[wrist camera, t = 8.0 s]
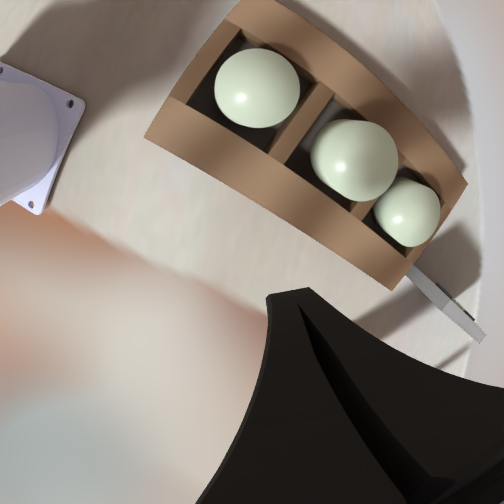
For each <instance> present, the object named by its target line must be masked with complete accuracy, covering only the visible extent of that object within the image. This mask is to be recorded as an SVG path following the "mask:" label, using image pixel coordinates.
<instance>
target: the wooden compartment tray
mask: <svg viewBox="0 0 504 504" xmlns="http://www.w3.org/2000/svg"><path fill="white" fill-rule="evenodd" d="M255 48H256V49H266V50H270V51H273V52H275V53H277V54H279V55H281V56H282V57H284V58H285V59H286V60H287V61H288V62H289V63H290V64H291V65H292V66H293V68H294V70H295V71H296V73H297V76H298V79H299V84H300V94H299V99H298V102H297V104H296V107H295V108H294V110H293V111H292V112H291V114H290V115H289V116H288V117H287V118H286V119H284V120H283V121H281V122H279V123H278V124H275V125H273V126H269V127H264V128H253V127H247V126H243V125H240V124H237V123H235V122H233V121H231V120H230V119H228V118H227V117H226V116H225V115H224V114H223V113H222V112H221V111H220V109H219V107H218V105H217V103H216V100H215V93H214V89H215V80H216V77H217V74H218V72H219V69H220V68H221V66H222V65H223V64H224V62H225V61H226V60H227V59H229V58H230V57H231V56H233V55H234V54H236V53H238V52H240V51H243V50H247V49H255ZM339 119H347V120H358V121H367V122H372V123H375V124H377V125H379V126H381V127H382V128H384V129H385V130H386V131H387V132H388V133H389V134H390V136H391V137H392V139H393V140H394V142H395V145H396V148H397V152H398V169H397V173H396V176H395V177H399V176H400V177H406V178H408V179H410V180H412V181H415V182H417V183H419V184H422V185H424V186H426V187H428V188H430V189H432V190H433V191H434V192H435V193H436V195H437V197H438V199H439V202H440V218H439V222H438V225H437V227H436V229H435V231H434V232H433V234H432V235H431V236H430V238H429V239H428V240H426V241H425V242H424V243H422V244H420V245H418V246H414V247H407V246H404V245H402V244H400V243H399V242H398V241H397V240H395V239H394V238H393V237H392V236H390V235H389V234H388V233H386V232H385V231H384V230H383V229H381V228H380V227H379V226H378V225H377V223H376V221H375V219H374V216H373V205H374V203H375V202H376V200H377V199H378V198H379V197H377V198H375V199H373V200H369V201H354V200H351V199H348V198H346V197H345V196H343V195H342V194H340V193H339V192H337V191H336V190H334V189H333V188H331V187H330V186H328V185H327V184H325V183H324V182H323V181H321V180H320V179H319V177H318V176H317V175H316V173H315V171H314V169H313V167H312V164H311V157H310V151H311V145H312V142H313V139H314V137H315V135H316V134H317V132H318V131H319V130H320V129H321V128H322V127H323V126H324V125H326V124H327V123H329V122H331V121H334V120H339ZM144 138H145V139H147V140H149V141H151V142H153V143H155V144H156V145H158V146H160V147H162V148H164V149H165V150H167V151H169V152H171V153H172V154H174V155H176V156H178V157H179V158H181V159H183V160H185V161H187V162H188V163H190V164H192V165H193V166H195V167H197V168H199V169H200V170H202V171H204V172H206V173H207V174H209V175H211V176H212V177H214V178H216V179H218V180H219V181H221V182H223V183H224V184H226V185H228V186H229V187H231V188H233V189H234V190H236V191H238V192H239V193H241V194H243V195H244V196H246V197H248V198H249V199H251V200H253V201H254V202H256V203H257V204H259V205H261V206H262V207H264V208H266V209H267V210H269V211H270V212H272V213H274V214H275V215H277V216H278V217H280V218H282V219H283V220H285V221H286V222H288V223H290V224H291V225H293V226H294V227H296V228H297V229H299V230H301V231H302V232H304V233H305V234H307V235H308V236H310V237H312V238H313V239H315V240H316V241H318V242H319V243H321V244H322V245H324V246H325V247H327V248H328V249H330V250H332V251H333V252H335V253H336V254H338V255H339V256H341V257H342V258H344V259H345V260H347V261H348V262H350V263H351V264H353V265H354V266H356V267H357V268H359V269H360V270H362V271H363V272H365V273H366V274H367V275H369V276H370V277H372V278H373V279H375V280H376V281H378V282H379V283H381V284H382V285H384V286H385V287H386V288H388V289H389V290H391V291H392V290H393V289H394V288H395V287H396V286H397V284H398V283H399V282H400V281H401V279H402V278H403V277H404V276H405V274H406V273H407V272H408V270H409V269H410V268H411V267H412V265H413V264H414V263H415V261H416V260H417V259H418V257H419V256H420V255H421V253H422V252H423V251H424V249H425V248H426V247H427V245H428V244H429V242H430V241H431V240H432V238H433V237H434V235H435V234H436V232H437V231H438V230H439V228H440V227H441V225H442V224H443V222H444V221H445V219H446V218H447V216H448V215H449V213H450V212H451V210H452V209H453V207H454V206H455V204H456V203H457V201H458V199H459V198H460V196H461V195H462V193H463V191H464V190H465V188H466V186H467V185H468V183H467V182H466V180H465V179H464V177H463V176H462V174H461V173H460V172H459V170H458V169H457V168H456V166H455V165H454V163H453V162H452V161H451V159H450V158H449V157H448V156H447V154H446V153H445V152H444V150H443V149H442V148H441V147H440V145H439V144H438V143H437V142H436V140H435V139H434V138H433V137H432V136H431V134H430V133H429V132H428V131H427V130H426V128H425V127H424V126H423V125H422V124H421V123H420V122H419V120H418V119H417V118H416V117H415V116H414V115H413V114H412V113H411V112H410V111H409V109H408V108H407V107H406V106H405V105H404V104H403V103H402V102H401V101H400V100H399V99H398V98H397V97H396V96H395V95H394V94H393V93H392V92H391V91H390V90H389V89H388V88H387V87H386V86H385V85H384V84H383V83H382V82H381V81H380V80H379V79H378V78H377V77H375V76H374V75H373V74H372V73H371V72H370V71H369V70H368V69H367V68H366V67H364V66H363V65H362V64H361V63H360V62H359V61H358V60H356V59H355V58H354V57H353V56H352V55H350V54H349V53H348V52H347V51H346V50H344V49H343V48H342V47H341V46H339V45H338V44H337V43H336V42H334V41H333V40H332V39H330V38H329V37H328V36H326V35H325V34H324V33H322V32H321V31H320V30H318V29H317V28H316V27H314V26H313V25H311V24H310V23H309V22H307V21H306V20H304V19H303V18H301V17H300V16H298V15H297V14H295V13H294V12H292V11H291V10H289V9H287V8H286V7H284V6H283V5H281V4H279V3H278V2H276V1H275V0H241V1H240V2H239V3H238V4H237V5H236V6H235V7H234V8H233V10H232V11H231V12H230V13H229V14H228V15H227V17H226V18H225V19H224V20H223V21H222V23H221V24H220V25H219V26H218V28H217V29H216V30H215V31H214V33H213V34H212V35H211V36H210V38H209V39H208V40H207V42H206V43H205V44H204V45H203V47H202V48H201V49H200V51H199V52H198V53H197V55H196V56H195V58H194V59H193V60H192V62H191V63H190V65H189V66H188V67H187V69H186V70H185V72H184V73H183V75H182V76H181V77H180V79H179V80H178V82H177V83H176V85H175V86H174V88H173V89H172V91H171V92H170V94H169V96H168V97H167V99H166V100H165V102H164V103H163V105H162V107H161V108H160V110H159V112H158V113H157V115H156V116H155V118H154V120H153V121H152V123H151V125H150V127H149V128H148V130H147V132H146V134H145V135H144Z"/></svg>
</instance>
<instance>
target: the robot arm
mask: <svg viewBox="0 0 504 504" xmlns="http://www.w3.org/2000/svg"><path fill="white" fill-rule="evenodd" d="M2 68H3V72H2V73H1V70H2ZM71 100H73V102H74V104H73V107H72V108H70V107H69V103H70V101H71ZM85 107H86V106H85V102H84V101H83V100H82V99H80V98H78V97H76V96H74V95H72V94H70V93H68V92H66V91H64V90H62V89H60V88H57V87H55V86H53V85H51V84H49V83H47V82H45V81H43V80H41V79H38V78H36V77H34V76H32V75H30V74H27V73H25V72H23V71H21V70H19V69H16V68H14V67H12V66H9V65H7V64H5V63H2V62H0V206H1V205H3V204H5V203H6V202H8V201H9V200H11V199H12V200H13V201H15V202H16V203H18V204H19V205H21V206H23V207H24V208H26V209H27V210H29V211H31V212H32V213H34V214H36V215H40V214H41V213H42V212H43V211H44V209H45V206H46V203H47V200H48V197H49V194H50V191H51V188H52V185H53V182H54V180H55V177H56V174H57V172H58V169H59V166H60V164H61V161H62V159H63V156H64V154H65V152H66V149H67V147H68V144H69V142H70V140H71V138H72V135H73V133H74V131H75V129H76V127H77V125H78V123H79V120H80V118H81V116H82V114H83V112H84V110H85ZM31 201H32V202H33V203H34V207H33V206H32V205H31ZM266 305H267V314H268V329H267V338H266V345H265V350H264V355H263V360H262V365H261V368H260V372H259V376H258V379H257V383H256V386H255V389H254V392H253V395H252V398H251V401H250V403H249V406H248V409H247V411H246V413H245V416H244V419H243V421H242V423H241V425H240V428H239V430H238V432H237V434H236V436H235V438H234V440H233V442H232V444H231V446H230V448H229V450H228V452H227V453H226V455H225V458H224V459H223V461H222V463H221V465H220V466H219V468H218V470H217V471H216V473H215V474H214V476H213V478H212V479H211V481H210V482H209V484H208V485H207V487H206V488H205V490H204V491H203V493H202V494H201V496H200V497H199V499H198V500H197V502H196V504H504V388H500V387H495V386H490V385H485V384H481V383H478V382H474V381H471V380H467V379H464V378H461V377H458V376H455V375H452V374H449V373H446V372H444V371H441V370H439V369H436V368H434V367H432V366H429V365H427V364H424V363H422V362H420V361H418V360H416V359H414V358H412V357H410V356H408V355H406V354H404V353H402V352H400V351H398V350H396V349H394V348H392V347H391V346H389V345H387V344H386V343H384V342H382V341H381V340H379V339H377V338H376V337H374V336H373V335H371V334H370V333H368V332H367V331H365V330H364V329H362V328H361V327H359V326H358V325H357V324H355V323H354V322H353V321H351V320H350V319H348V318H347V317H346V316H344V315H343V314H342V313H340V312H339V311H338V310H337V309H335V308H334V307H333V306H332V305H330V304H329V303H328V302H327V301H325V300H324V299H323V298H322V297H321V296H319V295H318V294H317V293H316V292H314V291H313V290H312V289H311V288H309V287H307V288H301V289H296V290H291V291H285V292H280V293H274V294H269V295H268V296H267V297H266Z"/></svg>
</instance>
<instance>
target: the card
mask: <svg viewBox="0 0 504 504" xmlns="http://www.w3.org/2000/svg"><path fill="white" fill-rule="evenodd" d="M405 275H406V276H407V277H408V278H409V279H410V280H411V281H412V282H413V283H414V284H415V285H416V286H417V287H418V288H419V289H420V290H421V291H422V292H423V293H424V294H425V295H426V296H427V297H428V298H429V299H430V300H431V301H432V302H433V303H434V304H435V305H436V306H437V307H438V308H439V309H440V310H441V311H442V312H443V313H444V314H445V315H446V316H448V317H449V318H450V319H451V320H452V321H454V322H455V323H456V324H457V325H458V326H460V327H461V328H462V329H463V330H464V331H465V332H467V333H468V334H469V335H470V336H471V337H472V338H473V339H475V340H476V341H477V342H478V343H480V342H481V341H482V340H483V339H484V338H485V336H486V334H485V333H484V332H483V331H482V330H481V329H480V328H479V326H478V325H477V324H476V323H475V322H474V320H475V319H474V318H473V317H472V316H471V315H470V314H469V313H468V312H467V311H466V310H465V309H464V308H463V307H462V306H461V305H460V304H459V303H458V302H457V301H456V300H455V299H454V298H453V297H452V296H451V295H450V294H449V293H448V292H447V291H445V290H444V289H443V288H442V287H441V286H440V285H439V284H438V283H436V284H434V283H433V282H432V281H431V280H430V279H429V278H428V277H427V276H426V275H425V274H423V273H422V272H421V271H420V270H419V269H418V268H417V267H415V266H414V265H412V267H411V268H410V269H409V270H408V272H407V273H406V274H405Z"/></svg>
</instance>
